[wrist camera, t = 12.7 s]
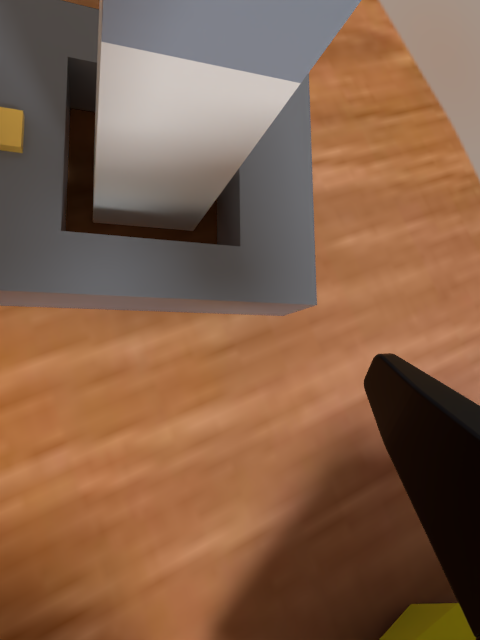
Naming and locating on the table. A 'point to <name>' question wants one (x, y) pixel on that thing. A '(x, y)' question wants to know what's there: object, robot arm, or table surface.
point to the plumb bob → (430, 623)
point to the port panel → (131, 252)
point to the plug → (193, 97)
